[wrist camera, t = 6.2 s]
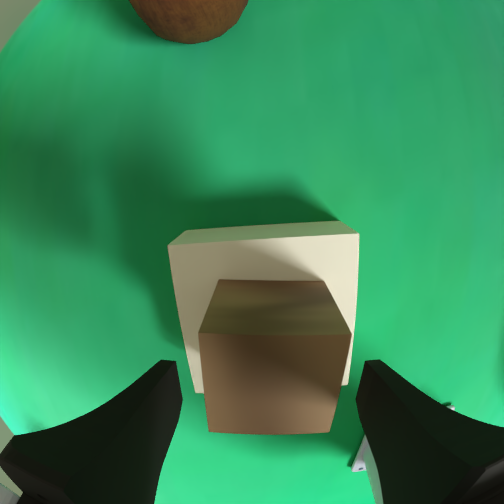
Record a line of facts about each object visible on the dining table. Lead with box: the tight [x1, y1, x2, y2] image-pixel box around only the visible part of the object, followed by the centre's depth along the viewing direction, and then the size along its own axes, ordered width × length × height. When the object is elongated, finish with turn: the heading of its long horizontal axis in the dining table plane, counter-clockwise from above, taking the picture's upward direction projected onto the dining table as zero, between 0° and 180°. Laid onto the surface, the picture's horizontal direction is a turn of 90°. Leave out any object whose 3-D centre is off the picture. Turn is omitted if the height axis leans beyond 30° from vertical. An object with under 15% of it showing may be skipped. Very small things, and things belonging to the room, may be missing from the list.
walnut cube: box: [198, 279, 352, 435], centre depth 12 cm, size 5×5×5 cm
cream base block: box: [167, 221, 359, 393], centre depth 17 cm, size 9×9×4 cm
